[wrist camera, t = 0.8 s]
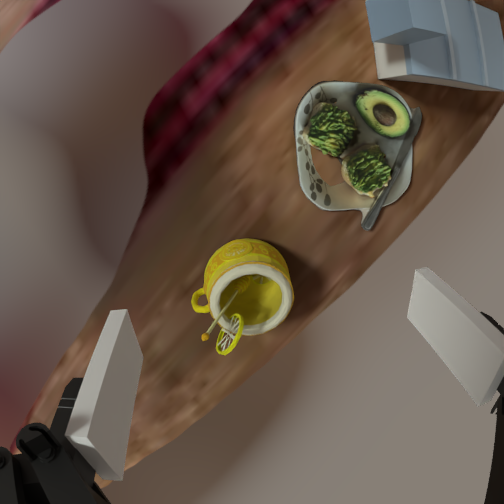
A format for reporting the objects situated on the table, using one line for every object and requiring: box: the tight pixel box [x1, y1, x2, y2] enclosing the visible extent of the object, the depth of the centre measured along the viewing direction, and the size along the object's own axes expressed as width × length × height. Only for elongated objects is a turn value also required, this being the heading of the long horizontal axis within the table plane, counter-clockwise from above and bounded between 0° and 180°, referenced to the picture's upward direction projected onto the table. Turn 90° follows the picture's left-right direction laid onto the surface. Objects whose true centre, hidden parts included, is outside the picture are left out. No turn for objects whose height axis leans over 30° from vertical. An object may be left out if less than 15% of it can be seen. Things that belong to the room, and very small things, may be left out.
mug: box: [191, 238, 294, 355], centre depth 38 cm, size 13×11×12 cm
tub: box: [366, 0, 504, 92], centre depth 30 cm, size 12×18×7 cm, turn 97°
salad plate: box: [294, 81, 422, 230], centre depth 37 cm, size 19×18×5 cm
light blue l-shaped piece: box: [365, 0, 504, 91], centre depth 23 cm, size 12×22×9 cm, turn 97°
